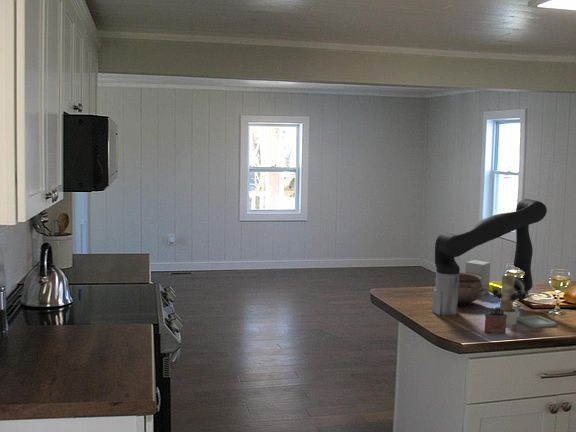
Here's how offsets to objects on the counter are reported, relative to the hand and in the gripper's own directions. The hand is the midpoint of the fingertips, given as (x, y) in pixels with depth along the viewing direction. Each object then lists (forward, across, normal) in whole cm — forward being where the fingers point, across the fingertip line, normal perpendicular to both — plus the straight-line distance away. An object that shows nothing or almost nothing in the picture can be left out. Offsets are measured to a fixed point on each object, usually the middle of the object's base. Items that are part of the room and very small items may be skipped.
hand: (506, 297), depth 250 cm
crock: (-3, 0, +11) cm, 11 cm away
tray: (-8, +11, +11) cm, 17 cm away
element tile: (-60, -9, +12) cm, 62 cm away
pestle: (-3, 0, +10) cm, 11 cm away
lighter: (+15, -1, +11) cm, 19 cm away
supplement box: (-49, -21, +11) cm, 55 cm away
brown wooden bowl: (-25, -23, +11) cm, 36 cm away
